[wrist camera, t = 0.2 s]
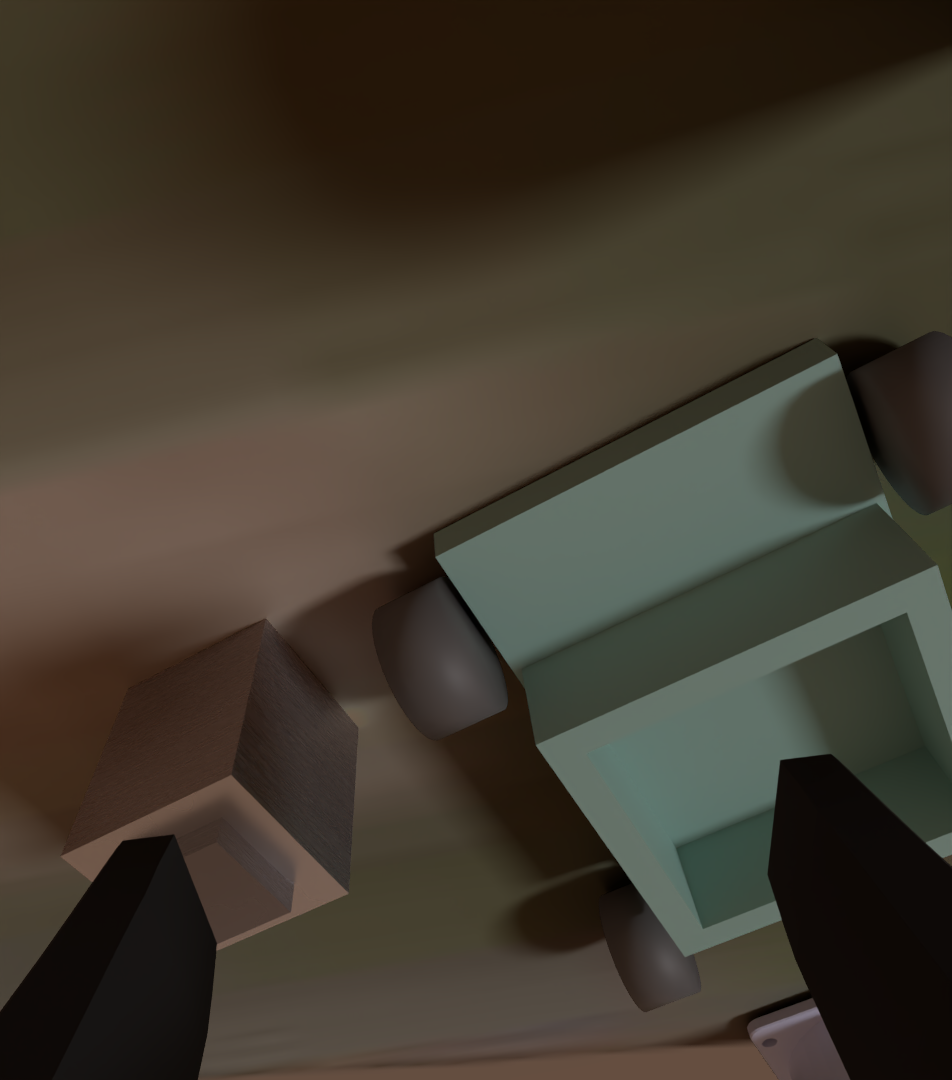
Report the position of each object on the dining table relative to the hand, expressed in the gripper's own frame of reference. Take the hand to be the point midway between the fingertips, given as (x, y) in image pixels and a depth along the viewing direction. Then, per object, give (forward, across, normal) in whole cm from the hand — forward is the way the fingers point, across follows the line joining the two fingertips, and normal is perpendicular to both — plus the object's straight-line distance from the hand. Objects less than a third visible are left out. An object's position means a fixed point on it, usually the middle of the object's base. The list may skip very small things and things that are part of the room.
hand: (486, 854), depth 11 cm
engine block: (+10, +6, +6) cm, 13 cm away
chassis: (+10, -7, +7) cm, 14 cm away
